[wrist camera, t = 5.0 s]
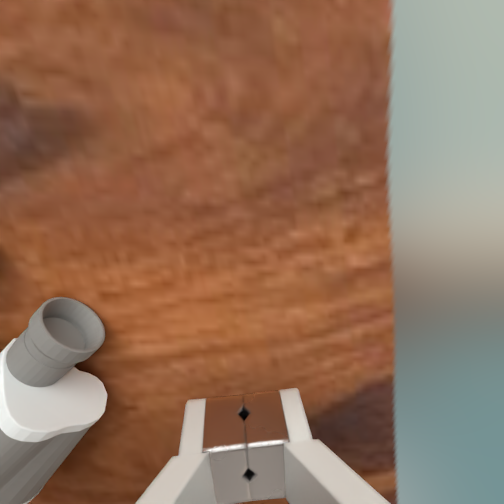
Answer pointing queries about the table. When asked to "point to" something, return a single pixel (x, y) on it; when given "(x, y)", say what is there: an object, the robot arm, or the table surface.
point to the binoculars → (47, 395)
